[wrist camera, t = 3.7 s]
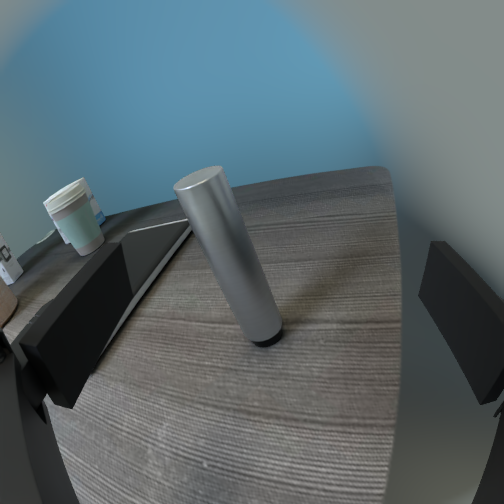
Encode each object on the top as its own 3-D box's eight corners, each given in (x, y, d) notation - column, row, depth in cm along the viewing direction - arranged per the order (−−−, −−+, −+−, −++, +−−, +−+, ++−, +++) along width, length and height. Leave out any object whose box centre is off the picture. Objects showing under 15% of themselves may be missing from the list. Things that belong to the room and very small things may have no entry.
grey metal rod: (283, 316, 25) (223, 160, 19) (288, 344, 23) (221, 175, 16) (247, 327, 25) (177, 177, 19) (248, 354, 23) (168, 194, 17)
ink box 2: (107, 219, 69) (84, 175, 64) (84, 240, 63) (58, 193, 57) (87, 225, 73) (65, 185, 67) (65, 244, 67) (41, 202, 61)
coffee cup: (115, 229, 60) (87, 177, 54) (104, 250, 53) (71, 191, 47) (82, 244, 60) (55, 195, 55) (69, 266, 53) (36, 211, 47)
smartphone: (30, 361, 31) (22, 351, 30) (133, 238, 52) (128, 230, 51) (89, 380, 25) (78, 368, 25) (198, 226, 46) (193, 215, 45)
